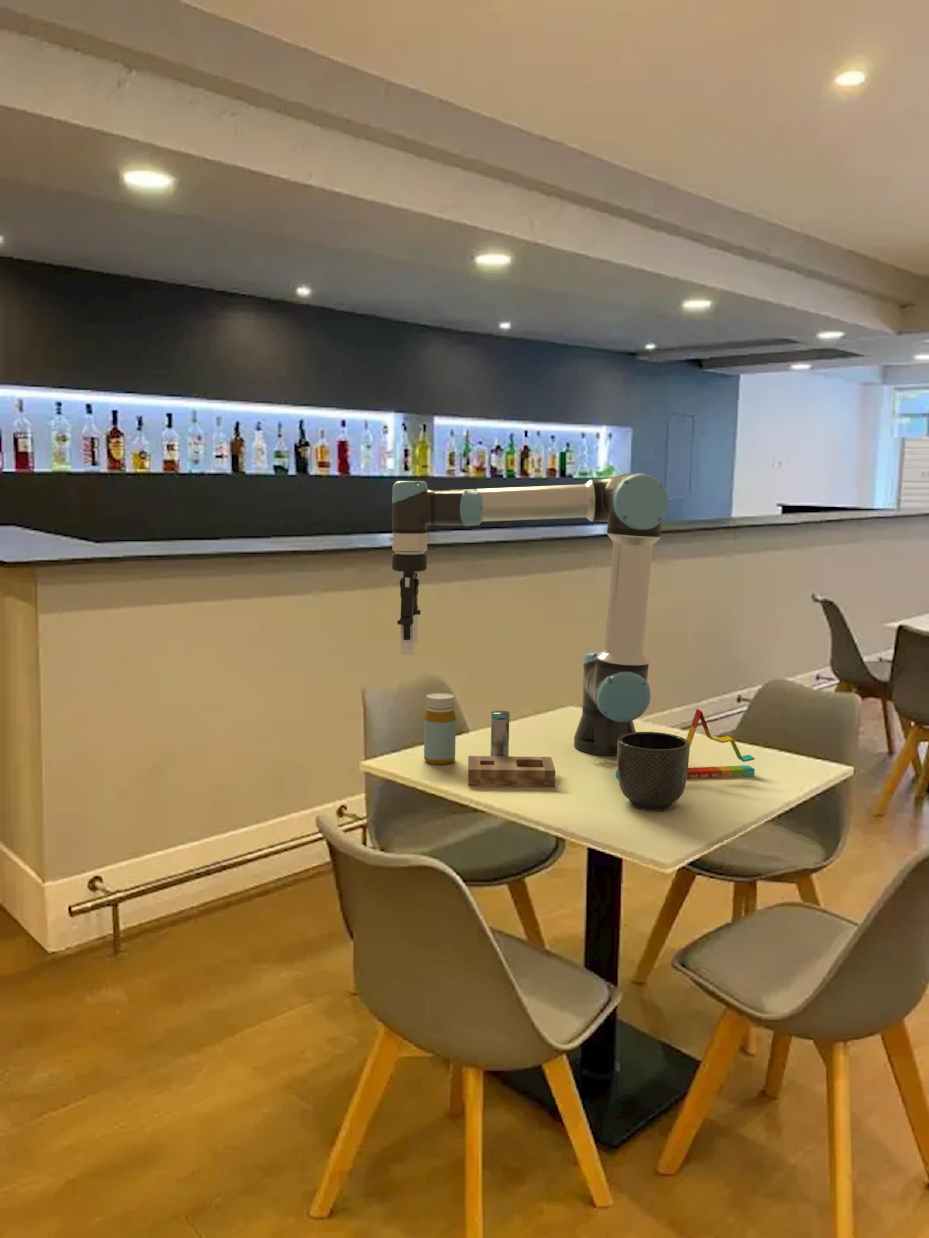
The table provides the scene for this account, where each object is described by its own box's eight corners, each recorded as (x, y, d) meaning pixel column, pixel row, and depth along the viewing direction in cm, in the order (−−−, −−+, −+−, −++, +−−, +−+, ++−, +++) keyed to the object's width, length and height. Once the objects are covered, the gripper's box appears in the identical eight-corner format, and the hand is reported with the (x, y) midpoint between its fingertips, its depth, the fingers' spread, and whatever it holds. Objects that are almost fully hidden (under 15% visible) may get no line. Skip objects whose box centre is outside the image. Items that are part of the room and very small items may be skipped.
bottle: (456, 757, 223) (457, 693, 221) (453, 766, 216) (454, 699, 214) (426, 755, 224) (426, 691, 221) (422, 764, 217) (422, 698, 215)
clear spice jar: (508, 762, 219) (509, 710, 217) (509, 768, 215) (510, 715, 213) (489, 762, 219) (490, 710, 217) (490, 767, 215) (491, 714, 213)
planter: (700, 812, 188) (703, 747, 186) (634, 818, 184) (637, 752, 182) (665, 790, 201) (668, 729, 199) (603, 795, 197) (605, 733, 195)
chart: (620, 783, 206) (622, 714, 204) (615, 778, 210) (618, 710, 207) (754, 778, 211) (758, 710, 209) (748, 773, 215) (751, 707, 212)
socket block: (550, 772, 212) (551, 756, 212) (555, 786, 202) (555, 770, 202) (468, 771, 212) (468, 755, 212) (468, 785, 202) (468, 769, 202)
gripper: (396, 548, 224) (396, 639, 227) (386, 557, 199) (387, 659, 202) (429, 548, 224) (429, 639, 227) (423, 557, 199) (423, 659, 202)
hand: (409, 649), depth 214 cm, fingers open, 13 cm apart
